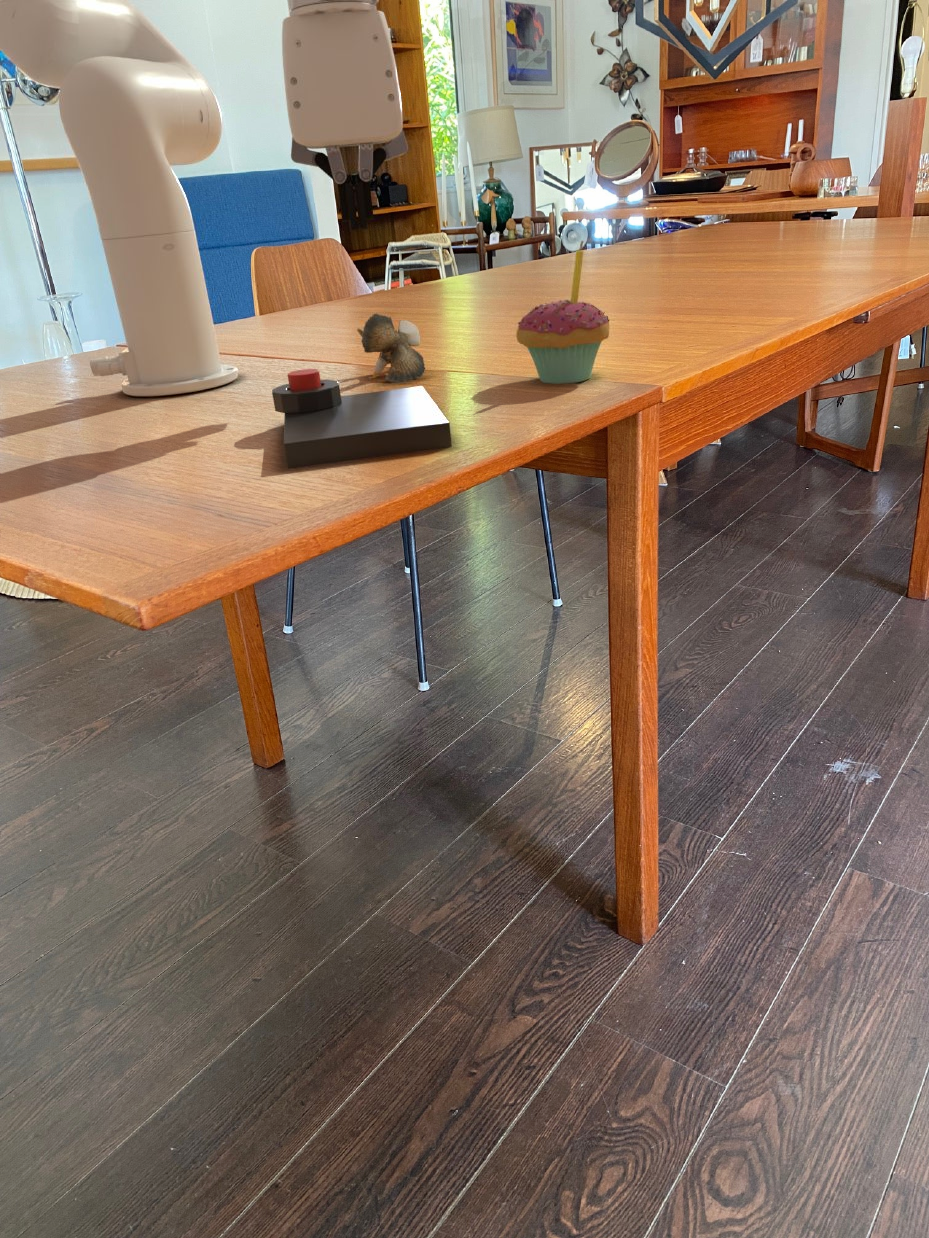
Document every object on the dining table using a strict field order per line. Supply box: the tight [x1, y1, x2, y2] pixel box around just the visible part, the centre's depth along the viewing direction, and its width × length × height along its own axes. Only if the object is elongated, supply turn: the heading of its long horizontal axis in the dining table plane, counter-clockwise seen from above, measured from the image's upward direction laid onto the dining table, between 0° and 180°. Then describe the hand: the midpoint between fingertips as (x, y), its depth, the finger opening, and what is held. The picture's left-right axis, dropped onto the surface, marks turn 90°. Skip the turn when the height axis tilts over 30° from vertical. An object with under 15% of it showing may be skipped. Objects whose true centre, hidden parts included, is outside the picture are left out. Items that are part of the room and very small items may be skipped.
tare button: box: [286, 368, 322, 391], centre depth 75 cm, size 3×3×2 cm
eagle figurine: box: [356, 313, 426, 384], centre depth 94 cm, size 8×7×9 cm
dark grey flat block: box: [271, 379, 453, 469], centre depth 72 cm, size 13×15×4 cm
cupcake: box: [515, 240, 610, 385], centre depth 83 cm, size 9×8×12 cm
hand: (358, 229), depth 86 cm, fingers closed
